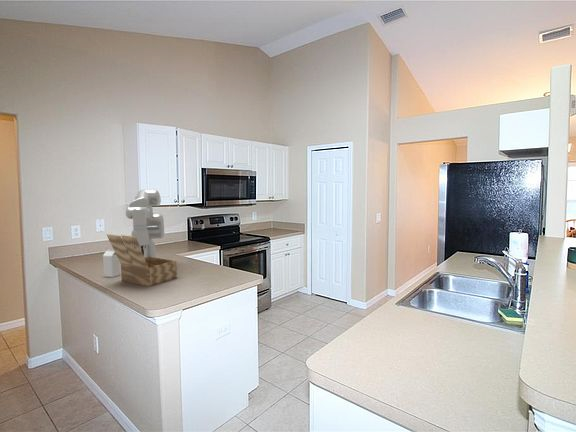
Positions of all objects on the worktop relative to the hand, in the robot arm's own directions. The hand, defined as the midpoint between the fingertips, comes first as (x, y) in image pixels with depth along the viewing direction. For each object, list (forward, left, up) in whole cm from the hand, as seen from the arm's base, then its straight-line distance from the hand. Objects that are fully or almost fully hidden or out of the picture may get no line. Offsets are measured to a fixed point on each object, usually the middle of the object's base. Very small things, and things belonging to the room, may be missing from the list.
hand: (141, 256), depth 200 cm
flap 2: (+3, -2, +4) cm, 5 cm away
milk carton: (-5, -40, -19) cm, 45 cm away
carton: (-12, -9, -19) cm, 24 cm away
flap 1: (+3, -16, +4) cm, 17 cm away
